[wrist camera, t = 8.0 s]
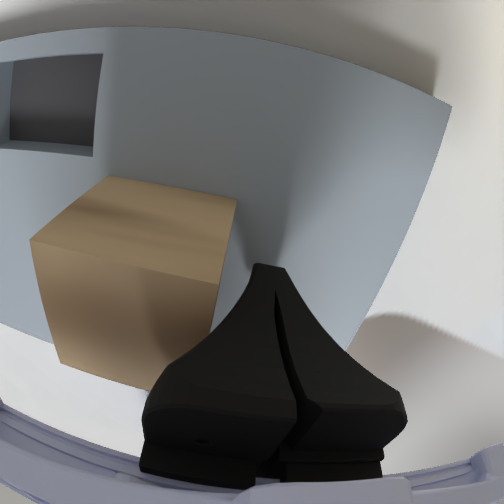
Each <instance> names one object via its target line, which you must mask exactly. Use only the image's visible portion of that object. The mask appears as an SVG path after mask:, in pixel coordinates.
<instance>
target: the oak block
mask: <svg viewBox="0 0 504 504" xmlns="http://www.w3.org/2000/svg"><path fill="white" fill-rule="evenodd" d="M236 203H237V199H232V198H227V197H222V196H217V195H212V194H207V193H202V192H197V191H192V190H187V189H182V188H176V187H171V186H166V185H160V184H155V183H149V182H143V181H138V180H132V179H126V178H120V177H114V176H107V177H105V178H104V179H103V180H101V181H100V182H99V183H97V184H96V185H95V186H93V187H92V188H91V189H89V190H88V191H87V192H85V193H84V194H83V195H81V196H80V197H79V198H78V199H76V200H75V201H74V202H73V203H71V204H70V205H69V206H68V207H66V208H65V209H64V210H63V211H62V212H60V213H59V214H58V215H57V216H56V217H54V218H53V219H52V220H51V221H50V222H49V223H47V224H46V225H45V226H44V227H43V228H42V229H40V230H39V231H38V232H37V233H36V234H35V235H34V236H33V237H32V238H30V239H29V241H30V247H31V253H32V258H33V264H34V269H35V274H36V278H37V283H38V287H39V292H40V296H41V300H42V304H43V308H44V311H45V315H46V319H47V322H48V326H49V329H50V333H51V336H52V339H53V342H54V345H55V348H56V351H57V354H58V357H59V360H60V363H62V364H64V365H67V366H70V367H73V368H75V369H78V370H81V371H84V372H87V373H90V374H93V375H96V376H99V377H102V378H105V379H108V380H112V381H115V382H118V383H122V384H125V385H129V386H132V387H136V388H139V389H143V390H147V391H151V389H152V387H153V386H154V384H155V382H156V381H157V379H158V378H159V376H160V375H161V373H162V372H163V371H164V369H165V368H166V367H167V365H168V364H170V363H172V362H173V361H175V360H176V359H178V358H179V357H181V356H182V355H184V354H185V353H187V352H188V351H190V350H191V349H192V348H193V347H195V346H196V345H197V344H198V343H200V342H201V341H202V340H203V339H204V338H206V337H207V336H208V335H209V334H210V331H211V326H212V321H213V316H214V311H215V306H216V301H217V296H218V291H219V286H220V281H221V276H222V271H223V266H224V261H225V256H226V251H227V246H228V241H229V236H230V232H231V227H232V222H233V217H234V213H235V208H236Z"/></svg>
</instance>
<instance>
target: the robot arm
mask: <svg viewBox="0 0 504 504" xmlns="http://www.w3.org/2000/svg"><path fill="white" fill-rule="evenodd" d="M407 422H408V420H407V415H406V411H405V408H404V404H403V401H402V398H401V395H400V392H399V391H397V390H395V389H394V388H392V387H391V386H389V385H387V384H386V383H385V382H383V381H381V380H380V379H378V378H377V377H376V376H374V375H373V374H372V373H370V372H369V371H368V370H366V369H365V368H363V366H361V365H360V364H359V363H358V362H357V361H355V360H354V359H353V358H352V357H351V356H350V355H349V354H347V352H346V351H344V350H343V349H342V348H341V347H340V346H339V345H338V344H337V343H336V342H335V341H334V339H333V338H332V337H331V336H330V335H329V334H328V333H327V331H326V330H325V329H324V328H323V327H322V326H321V324H320V323H319V322H318V320H317V319H316V318H315V316H314V315H313V314H312V312H311V311H310V309H309V308H308V306H307V305H306V303H305V302H304V300H303V299H302V297H301V295H300V294H299V292H298V290H297V289H296V287H295V285H294V283H293V282H292V280H291V278H290V276H289V275H288V273H287V271H286V269H285V268H282V267H277V266H272V265H267V264H262V263H255V264H253V267H252V271H251V275H250V279H249V282H248V284H247V286H246V288H245V290H244V292H243V293H242V295H241V297H240V298H239V300H238V301H237V302H236V304H235V305H234V307H233V308H232V310H231V311H230V312H229V313H228V315H227V316H226V317H225V318H224V319H223V321H222V322H221V323H220V324H219V325H218V326H217V327H216V328H215V329H214V330H213V331H212V332H211V333H210V334H209V335H208V336H207V337H206V338H204V339H203V340H202V341H201V342H200V343H198V344H197V345H196V346H195V347H193V348H192V349H191V350H190V351H188V352H187V353H185V354H184V355H182V356H181V357H179V358H178V359H176V360H175V361H173V362H172V363H170V364H168V365H167V367H166V368H165V369H164V371H163V372H162V373H161V375H160V376H159V378H158V379H157V381H156V382H155V384H154V386H153V387H152V389H151V391H148V394H147V400H146V403H145V407H144V410H143V414H142V426H143V433H144V439H145V441H144V445H143V449H142V453H141V457H136V456H133V455H129V454H126V453H122V452H119V451H116V450H112V449H109V448H106V447H103V446H100V445H97V444H94V443H91V442H88V441H86V440H83V439H80V438H78V437H75V436H72V435H70V434H67V433H65V432H62V431H60V430H58V429H55V428H53V427H51V426H48V425H46V424H44V423H42V422H39V421H37V420H35V419H33V418H31V417H29V416H27V415H25V414H23V413H21V412H19V411H17V410H15V409H13V408H11V407H9V406H7V405H5V404H4V403H3V402H2V400H1V398H0V482H1V483H2V484H4V485H6V486H7V487H9V488H11V489H13V490H14V491H16V492H17V493H19V494H21V495H23V496H25V497H26V498H28V499H31V500H32V501H34V502H36V503H38V504H496V503H498V502H499V501H501V500H503V499H504V446H503V443H498V444H495V445H491V446H488V447H486V448H483V449H482V450H480V451H478V452H477V453H476V454H474V455H473V456H472V457H471V458H470V459H466V460H462V461H459V462H454V463H450V464H446V465H442V466H437V467H433V468H427V469H422V470H416V471H410V472H404V473H398V474H390V475H382V470H381V464H380V461H382V460H383V459H384V451H383V448H384V447H385V446H386V445H387V444H388V443H390V441H392V440H393V439H394V438H395V437H397V435H399V433H400V432H402V430H403V429H404V428H405V426H406V424H407Z"/></svg>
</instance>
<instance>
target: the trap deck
mask: <svg viewBox="0 0 504 504" xmlns="http://www.w3.org/2000/svg"><path fill="white" fill-rule="evenodd" d="M451 109H452V106H451V105H449V104H447V103H445V102H443V101H441V100H439V99H437V98H435V97H433V96H431V95H429V94H427V93H425V92H422V91H420V90H418V89H416V88H414V87H411V86H409V85H407V84H405V83H402V82H400V81H398V80H395V79H393V78H390V77H388V76H385V75H383V74H380V73H378V72H375V71H372V70H370V69H367V68H364V67H362V66H359V65H356V64H353V63H350V62H347V61H344V60H341V59H338V58H334V57H331V56H328V55H325V54H321V53H318V52H314V51H310V50H307V49H303V48H299V47H295V46H291V45H287V44H282V43H278V42H273V41H269V40H264V39H258V38H253V37H248V36H242V35H235V34H229V33H222V32H214V31H206V30H196V29H185V28H170V27H144V26H122V27H96V28H82V29H71V30H62V31H54V32H47V33H40V34H34V35H28V36H23V37H18V38H13V39H9V40H4V41H0V323H2V324H5V325H7V326H9V327H11V328H14V329H16V330H18V331H21V332H23V333H26V334H28V335H31V336H33V337H36V338H38V339H41V340H44V341H46V342H49V343H52V344H54V342H53V339H52V336H51V333H50V329H49V326H48V322H47V319H46V315H45V311H44V308H43V304H42V300H41V296H40V292H39V287H38V283H37V278H36V274H35V269H34V264H33V258H32V253H31V247H30V241H29V239H30V238H32V237H33V236H34V235H35V234H36V233H37V232H38V231H39V230H40V229H42V228H43V227H44V226H45V225H46V224H47V223H49V222H50V221H51V220H52V219H53V218H54V217H56V216H57V215H58V214H59V213H60V212H62V211H63V210H64V209H65V208H66V207H68V206H69V205H70V204H71V203H73V202H74V201H75V200H76V199H78V198H79V197H80V196H81V195H83V194H84V193H85V192H87V191H88V190H89V189H91V188H92V187H93V186H95V185H96V184H97V183H99V182H100V181H101V180H103V179H104V178H105V177H107V176H114V177H120V178H126V179H132V180H138V181H143V182H149V183H155V184H160V185H166V186H171V187H176V188H182V189H187V190H192V191H197V192H202V193H207V194H212V195H217V196H222V197H227V198H232V199H237V203H236V208H235V213H234V217H233V222H232V227H231V232H230V236H229V241H228V246H227V251H226V256H225V261H224V266H223V271H222V276H221V281H220V286H219V291H218V296H217V301H216V306H215V311H214V316H213V321H212V326H211V331H210V333H211V332H212V331H213V330H214V329H215V328H216V327H217V326H218V325H219V324H220V323H221V322H222V321H223V319H224V318H225V317H226V316H227V315H228V313H229V312H230V311H231V310H232V308H233V307H234V305H235V304H236V302H237V301H238V300H239V298H240V297H241V295H242V293H243V292H244V290H245V288H246V286H247V284H248V282H249V279H250V275H251V271H252V267H253V264H255V263H262V264H267V265H272V266H277V267H282V268H285V269H286V271H287V273H288V275H289V276H290V278H291V280H292V282H293V283H294V285H295V287H296V289H297V290H298V292H299V294H300V295H301V297H302V299H303V300H304V302H305V303H306V305H307V306H308V308H309V309H310V311H311V312H312V314H313V315H314V316H315V318H316V319H317V320H318V322H319V323H320V324H321V326H322V327H323V328H324V329H325V330H326V331H327V333H328V334H329V335H330V336H331V337H332V338H333V339H334V341H335V342H336V343H337V344H338V345H339V346H340V347H341V348H342V349H343V350H344V351H346V349H347V348H348V346H349V344H350V343H351V341H352V339H353V337H354V335H355V334H356V332H357V330H358V329H359V327H360V325H361V323H362V322H363V320H364V318H365V316H366V314H367V312H368V311H369V309H370V307H371V305H372V303H373V301H374V299H375V297H376V296H377V294H378V292H379V290H380V288H381V286H382V284H383V282H384V280H385V278H386V276H387V274H388V272H389V270H390V268H391V266H392V264H393V262H394V259H395V257H396V255H397V253H398V251H399V249H400V247H401V244H402V242H403V240H404V238H405V235H406V233H407V231H408V229H409V226H410V224H411V222H412V219H413V217H414V215H415V212H416V210H417V207H418V205H419V202H420V200H421V197H422V195H423V192H424V190H425V187H426V184H427V182H428V179H429V176H430V174H431V171H432V168H433V165H434V163H435V160H436V157H437V154H438V151H439V148H440V145H441V142H442V139H443V136H444V132H445V129H446V126H447V123H448V119H449V116H450V112H451Z"/></svg>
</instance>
